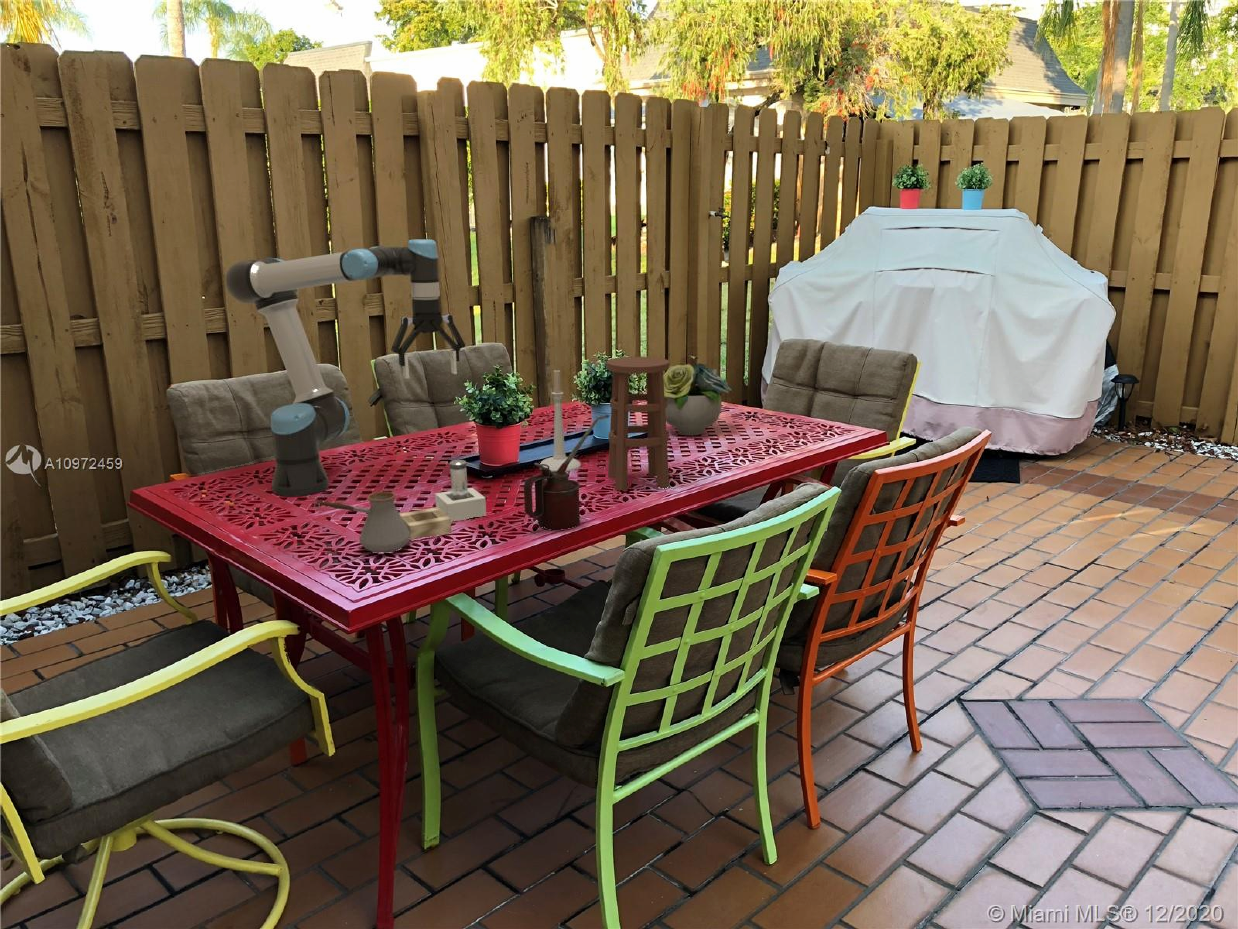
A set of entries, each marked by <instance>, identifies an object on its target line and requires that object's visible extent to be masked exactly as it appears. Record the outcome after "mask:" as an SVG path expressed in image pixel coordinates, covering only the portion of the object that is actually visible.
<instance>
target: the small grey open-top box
mask: <svg viewBox="0 0 1238 929" xmlns="http://www.w3.org/2000/svg"><path fill="white" fill-rule="evenodd" d="M467 489H468V498H467V499H461V500H455V501H452V490H448V491H444V492H443V491H442V492H438V493H436V492H435V493H434V496H435V497H434V498H435V508H436V507H438V508H439V509H440V510H441V511H442V512H443V513H445V514H446V515H447V516H448V517H449V518H450V519H451V522H452V521H457V520H464V521H467V520H466V519H469V518H473V517H481V516H486V517H487V504H486V502H487V501H486V500H487V499H486V497H485V496H484V495H482V494H481V493H480V492H478V491H477V490H475V488H473V487H467ZM481 518H482V517H481ZM469 520H470V519H469Z"/></svg>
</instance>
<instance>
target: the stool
mask: <svg viewBox="0 0 1238 929" xmlns="http://www.w3.org/2000/svg"><path fill="white" fill-rule="evenodd" d="M605 364H606V365H605V366H606V369H607V371H610V372H612V385H611V386H612V387H611V388H612V389H611V398H610V399H609V407H610V409H611V410H610V426H609V429H610V430H609V432H608V441H609V449H608V450H609V452H608V471H607V473H608V474H607V475H608V476H607V478H608V477H609V478H613V479H615V480H614V491H615V490H626V489H627V490H628V467H629V466H628V465H629V464H628V462H629V459H628V456H629V453H628V452H629V449H628V448H631V447H632V448H646V447H647V458H648V459H647V460H648V461H647V464H648V477H651V476H657V477H656V488H657V487H660V488H664V489H665V488H667V487H668V486H669V487H670V476H669V473H670V472H669V459H668V458H669V455H668V442H669V440H670V433H669V431H668V430H667V422H666V415H665V408H667V399H666V398H665V396H664V378H663V375H664V372H665V371H667V370H668V369H669V367H670V360H668V359H665V358H661V357H655V356H623V357H615V358H611V359H608V360H607V361H605ZM630 374H640V375H641V374H646V393H630V391H629V388H630V382H629V381H630ZM635 401H636V402H646V404H630V403H629V402H635ZM629 413H646V415H647V418H646V420H647V425H629ZM629 434H647V438H629ZM613 479H612V480H613ZM627 490H626V491H627ZM665 490H666V489H665Z"/></svg>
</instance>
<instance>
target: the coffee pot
mask: <svg viewBox="0 0 1238 929" xmlns="http://www.w3.org/2000/svg"><path fill="white" fill-rule="evenodd" d="M396 497H397V495H396V493H394V492H392V491H391V492H390V491H380V492H379V491H378V492H373V493H370V494H369V495H368V496H367V497H366V499H367V501H369V503H370V507H369V508H362V507H356V506H351V505H348V504H343V503H340V502H339V503H338V502H329V501H328V500H327V501H323V500H318V501H316V502H314V505H313V508H314V510H315V511H318V510H319V509H320V506H325V507H326V508H327V507H329V508H332V509H333V508H334V509H338V510H344V511H345V510H346V511H354V512H361V513H366V514H367V516H366V519H365V522H364V524H363V527H362V530H361V533H360V536H359V542H360V545H361V546H362V547H363V548H364V549H366V550H367V551H369V550H370V551H373V552H391V551H396V550H398V549H400V548H402V547H403V548H404V547H405V546H406V545H407V543H408V542H410V540H409V538H410V532H409V530H408V528H407V526H406V525H405V523H404V521H403V519H402V518H401V516H400V514H401V513H399V511H398V510H399V509H397V507H396V506H395V504H394V503H395V498H396ZM316 505H318V507H317V509H316ZM403 548H402V549H403ZM370 551H369V552H370Z"/></svg>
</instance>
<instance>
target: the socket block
mask: <svg viewBox="0 0 1238 929" xmlns="http://www.w3.org/2000/svg"><path fill="white" fill-rule="evenodd" d="M399 514H400V516H401V518H402V519H403V521H404V523H405V525H406V526H407V528H408V530H409V532H410V540H413V539H418V538H422V537H430V536H435V535H440V534H449V533H452V523H451V519H450V518H449V517H448V516H447V515H446V514H445V513H443V512H442V511H441V510H440V509H439V508H438V507H436V506H435V507H431V508H426V509H420V510H414V511H407V512H403V513H402V512H401V513H399ZM410 540H409V541H410Z"/></svg>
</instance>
